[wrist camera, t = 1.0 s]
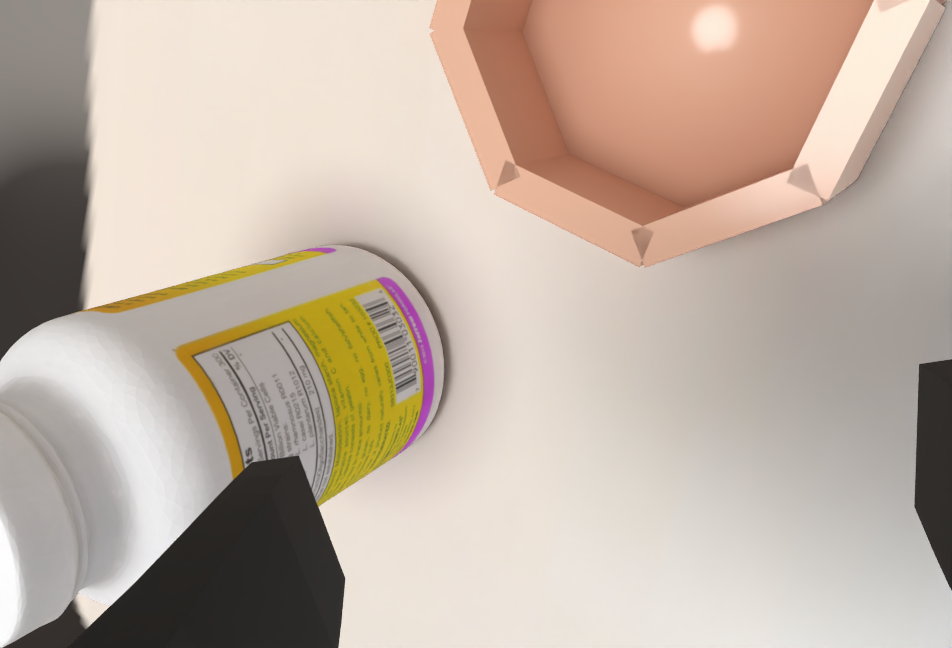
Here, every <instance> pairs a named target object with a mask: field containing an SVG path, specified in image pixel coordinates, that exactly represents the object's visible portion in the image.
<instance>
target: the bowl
mask: <svg viewBox="0 0 952 648" xmlns="http://www.w3.org/2000/svg"><path fill="white" fill-rule="evenodd" d="M945 2H947V0H437V2H436V6H435V10H434V13H433V17H432V21H431V24H430V28H431V29H433V30H435V31H433V32H432V33H430V36H431V38H432V41H433V44H434V46H435V49H436V51H437V54H438V56H439V59H440V62H441V64H442V67H443V69H444V72H445V74H446V77H447V80H448V82H449V85H450V87H451V90H452V92H453V95H454V98H455V100H456V103H457V105H458V108H459V111H460V113H461V116H462V118H463V121H464V123H465V126H466V129H467V131H468V134H469V136H470V139H471V141H472V144H473V147H474V149H475V152H476V154H477V157H478V159H479V162H480V165H481V167H482V170H483V172H484V175H485V177H486V180H487V183H488V185H489V188H490V190H494V189H496V190H495V193H494V195H496V196H498V197H500V198H502V199H504V200H506V201H508V202H510V203H512V204H514V205H516V206H518V207H520V208H522V209H524V210H526V211H528V212H530V213H532V214H534V215H536V216H538V217H540V218H542V219H544V220H546V221H548V222H550V223H552V224H554V225H556V226H558V227H560V228H562V229H564V230H566V231H568V232H570V233H572V234H574V235H576V236H578V237H580V238H582V239H584V240H586V241H588V242H590V243H592V244H594V245H596V246H598V247H600V248H602V249H604V250H606V251H608V252H610V253H612V254H614V255H616V256H618V257H620V258H622V259H624V260H626V261H628V262H630V263H632V264H634V265H636V266H638V267H640V266H642V265H644V267H648V266H650V265H653V264H656V263H659V262H662V261H665V260H668V259H670V258H673V257H676V256H679V255H682V254H685V253H687V252H690V251H693V250H696V249H699V248H702V247H705V246H707V245H710V244H713V243H716V242H719V241H722V240H725V239H727V238H730V237H733V236H736V235H739V234H742V233H745V232H747V231H750V230H753V229H756V228H759V227H762V226H764V225H767V224H770V223H773V222H776V221H779V220H782V219H784V218H787V217H790V216H793V215H796V214H799V213H802V212H804V211H807V210H810V209H813V208H816V207H819V206H821V205H823V204H825V203H826V202H828V201H829V200H830V199H832V198H833V197H834V196H836V195H837V194H839V193H840V192H841V191H843V190H844V189H845V188H847V187H848V186H850V185H851V184H852V183H853V182H854V181H855V180H857V179H858V177H859V175H860V173H861V171H862V169H863V167H864V165H865V163H866V161H867V160H868V158H869V156H870V154H871V152H872V150H873V148H874V146H875V144H876V142H877V140H878V138H879V136H880V135H881V133H882V131H883V129H884V127H885V125H886V123H887V121H888V119H889V117H890V115H891V113H892V111H893V110H894V108H895V106H896V104H897V102H898V100H899V98H900V96H901V94H902V92H903V90H904V88H905V86H906V85H907V83H908V81H909V79H910V77H911V75H912V73H913V71H914V69H915V67H916V65H917V63H918V61H919V60H920V58H921V56H922V54H923V52H924V50H925V48H926V46H927V44H928V42H929V40H930V38H931V36H932V34H933V33H934V31H935V29H936V27H937V25H938V23H939V21H940V19H941V17H942V15H943V13H944V11H945V9H946V8H945V7H944V6H943V5H941V4H943V3H945Z"/></svg>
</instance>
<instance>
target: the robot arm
mask: <svg viewBox="0 0 952 648" xmlns="http://www.w3.org/2000/svg"><path fill="white" fill-rule="evenodd" d="M915 509H916V511H917V514H918V516H919V518H920V521H921V523H922V525H923V528H924V530H925V532H926V535H927V537H928V540H929V542H930V544H931V547H932V549H933V551H934V553H935V556H936V558H937V560H938V562H939V564H940V567H941V569H942V571H943V573H944V575H945V578H946V580H947V582H948V584H949V586H950V588H951V590H952V359H951V360H945V361H938V362H931V363H924V364H919V386H918V417H917V448H916V479H915ZM344 586H345V577H344V574H343V572H342V569H341V566H340V564H339V561H338V558H337V556H336V553H335V550H334V548H333V545H332V542H331V540H330V537H329V534H328V532H327V529H326V526H325V524H324V521H323V518H322V516H321V513H320V510H319V508H318V505H317V502H316V500H315V497H314V494H313V492H312V489H311V486H310V484H309V481H308V478H307V476H306V473H305V470H304V468H303V465H302V462H301V460H300V457H299V455H298V456H291V457H284V458H277V459H271V460H264V461H257V462H251V463H250V464H249V465H248V466H247V467H246V468H245V469H244V470H243V471H242V472H241V473H240V474H239V475H238V476H237V477H236V478H235V479H234V480H233V481H232V482H231V483H230V484H229V485H228V486H227V487H226V488H225V489H224V490H223V491H222V492H221V493H220V494H219V495H218V496H217V497H216V498H215V499H214V500H213V501H212V502H211V503H210V504H209V505H208V507H207V508H206V509H205V510H204V511H203V512H202V513H201V514H200V515H199V516H198V517H197V518H196V519H195V520H194V521H193V522H192V523H191V525H190V526H189V527H188V528H187V529H186V530H185V531H184V532H183V533H182V534H181V535H180V536H179V537H178V538H177V539H176V540H175V541H174V542H173V543H172V544H171V545H170V547H169V548H168V549H167V550H166V551H165V552H164V553H163V554H162V555H161V556H160V557H159V558H158V559H157V560H156V561H155V562H154V563H153V564H152V565H151V566H150V567H149V568H148V569H147V570H146V572H145V573H144V574H143V575H142V576H141V577H140V578H139V579H138V580H137V581H136V582H135V583H134V584H133V585H132V586H131V587H130V588H129V589H128V590H127V591H126V592H125V593H124V594H122V595H121V596H120V597H119V598H118V599H117V600H116V601H115V602H114V603H113V604H112V605H111V606H110V607H109V608H108V609H107V610H106V611H105V612H104V613H103V614H102V615H101V616H100V617H99V618H98V619H97V620H95V621H94V622H93V623H92V624H91V625H90V626H89V627H88V628H87V629H86V630H85V631H84V632H83V633H82V634H81V635H80V636H79V637H78V638H77V639H76V640H75V641H74V642H73V643H72V644H71V645H70V646H69V647H68V648H338V645H339V637H340V628H341V620H342V609H343V597H344Z"/></svg>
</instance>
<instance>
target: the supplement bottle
mask: <svg viewBox="0 0 952 648" xmlns="http://www.w3.org/2000/svg"><path fill="white" fill-rule="evenodd" d="M443 381H444V357H443V349H442V344H441V340H440V336H439V332H438V329H437V327H436V324H435V321H434V319H433V317H432V314H431V312H430V310H429V308H428V307H427V305H426V303H425V301H424V299H423V298H422V297H421V295H420V294H419V292H418V291H417V290H416V288H415V287H414V286H413V284H412V283H411V282H410V281H409V280H408V279H407V278H406V277H405V276H404V275H403V274H402V273H401V272H400V271H399V270H397V269H396V268H395V267H394V266H393V265H391V264H390V263H388V262H387V261H385V260H384V259H382V258H380V257H378V256H377V255H375V254H373V253H370V252H368V251H365V250H363V249H360V248H356V247H350V246H344V245H327V246H320V247H315V248H311V249H307V250H303V251H299V252H294V253H290V254H287V255H284V256H280V257H277V258H273V259H270V260H266V261H263V262H259V263H255V264H252V265H248V266H245V267H241V268H237V269H233V270H230V271H226V272H223V273H219V274H215V275H211V276H207V277H204V278H201V279H197V280H194V281H190V282H186V283H183V284H179V285H176V286H172V287H168V288H165V289H161V290H157V291H154V292H151V293H147V294H143V295H139V296H136V297H132V298H128V299H125V300H121V301H117V302H113V303H110V304H106V305H102V306H98V307H95V308H91V309H87V310H83V311H80V312H76V313H73V314H70V315H67V316H63V317H59V318H56V319H53V320H51V321H48V322H45V323H43V324H41V325H39V326H38V327H36V328H34V329H32V330H31V331H29V332H28V333H27V334H25V335H24V336H23V337H21V338H20V339H19V340H18V341H17V342H16V343H15V344H14V345H13V346H12V347H11V348H10V349H9V350H8V352H7V353H6V354H5V356H4V357H3V358H2V360H1V362H0V648H2V647H4V646H6V645H8V644H10V643H12V642H14V641H16V640H17V639H19V638H21V637H23V636H24V635H26V634H28V633H30V632H31V631H33V630H35V629H36V628H38V627H40V626H42V625H44V624H46V623H49V622H51V621H53V620H55V619H56V618H58V617H59V616H60V615H61V614H62V613H63V611H64V610H65V609H66V608H67V606H68V604H69V603H70V602H71V601H72V600H73V599H74V598H75V596H76V595H77V594H78V593H79V594H81V595H83V596H85V597H87V598H89V599H92V600H94V601H97V602H100V603H103V604H107V605H112V604H113V603H114V602H115V601H116V600H117V599H118V598H119V597H120V596H121V595H122V594H124V593H125V592H126V591H127V590H128V589H129V588H130V587H131V586H132V585H133V584H134V583H135V582H136V581H137V580H138V579H139V578H140V577H141V576H142V575H143V574H144V573H145V572H146V570H147V569H148V568H149V567H150V566H151V565H152V564H153V563H154V562H155V561H156V560H157V559H158V558H159V557H160V556H161V555H162V554H163V553H164V552H165V551H166V550H167V549H168V548H169V547H170V545H171V544H172V543H173V542H174V541H175V540H176V539H177V538H178V537H179V536H180V535H181V534H182V533H183V532H184V531H185V530H186V529H187V528H188V527H189V526H190V525H191V523H192V522H193V521H194V520H195V519H196V518H197V517H198V516H199V515H200V514H201V513H202V512H203V511H204V510H205V509H206V508H207V507H208V505H209V504H210V503H211V502H212V501H213V500H214V499H215V498H216V497H217V496H218V495H219V494H220V493H221V492H222V491H223V490H224V489H225V488H226V487H227V486H228V485H229V484H230V483H231V482H232V481H233V480H234V479H235V478H236V477H237V476H238V475H239V474H240V473H241V472H242V471H243V470H244V469H245V468H246V467H247V466H248V465H249V464H250V463H251V462H257V461H264V460H271V459H277V458H284V457H291V456H298V455H299V457H300V460H301V462H302V465H303V468H304V470H305V473H306V476H307V478H308V481H309V484H310V486H311V489H312V492H313V494H314V497H315V500H316V502H317V505H318V506H320V505H321V504H323V503H324V502H326V501H327V500H329V499H331V498H332V497H334V496H335V495H337V494H338V493H340V492H341V491H343V490H344V489H346V488H347V487H349V486H351V485H352V484H354V483H355V482H357V481H358V480H360V479H362V478H363V477H365V476H366V475H368V474H369V473H370V472H372V471H373V470H375V469H377V468H378V467H380V466H381V465H383V464H384V463H386V462H387V461H389V460H390V459H392V458H393V457H395V456H397V455H398V454H399V453H401V452H402V451H404V450H405V449H406V448H408V447H409V446H410V445H412V444H413V443H414V442H415V441H416V440H418V439H419V438H420V437H421V435H422V434H423V433H424V432H425V430H426V429H427V428H428V426H429V425H430V423H431V422H432V420H433V418H434V416H435V414H436V411H437V409H438V405H439V402H440V399H441V394H442V389H443Z"/></svg>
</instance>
